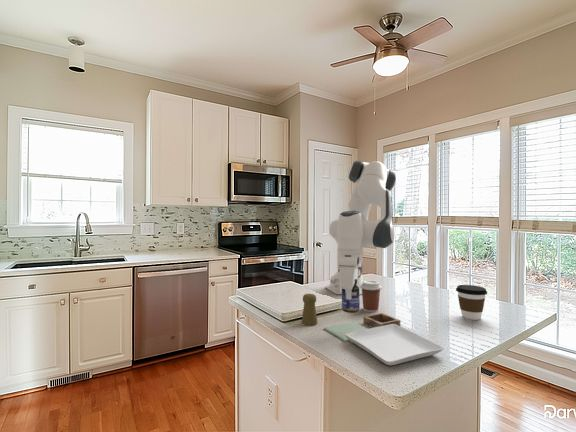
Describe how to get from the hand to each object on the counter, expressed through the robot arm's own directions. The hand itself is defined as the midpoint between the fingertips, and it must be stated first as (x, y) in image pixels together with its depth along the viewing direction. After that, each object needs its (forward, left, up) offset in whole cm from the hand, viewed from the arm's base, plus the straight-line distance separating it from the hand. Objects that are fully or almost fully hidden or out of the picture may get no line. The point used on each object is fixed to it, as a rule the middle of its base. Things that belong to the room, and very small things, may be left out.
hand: (350, 296), depth 109 cm
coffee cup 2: (+10, +53, -13) cm, 55 cm away
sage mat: (0, 0, -13) cm, 13 cm away
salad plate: (+17, +3, -13) cm, 22 cm away
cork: (-14, -8, -13) cm, 21 cm away
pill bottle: (0, 0, -5) cm, 5 cm away
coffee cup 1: (-16, +24, -13) cm, 31 cm away
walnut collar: (0, +15, -13) cm, 19 cm away
